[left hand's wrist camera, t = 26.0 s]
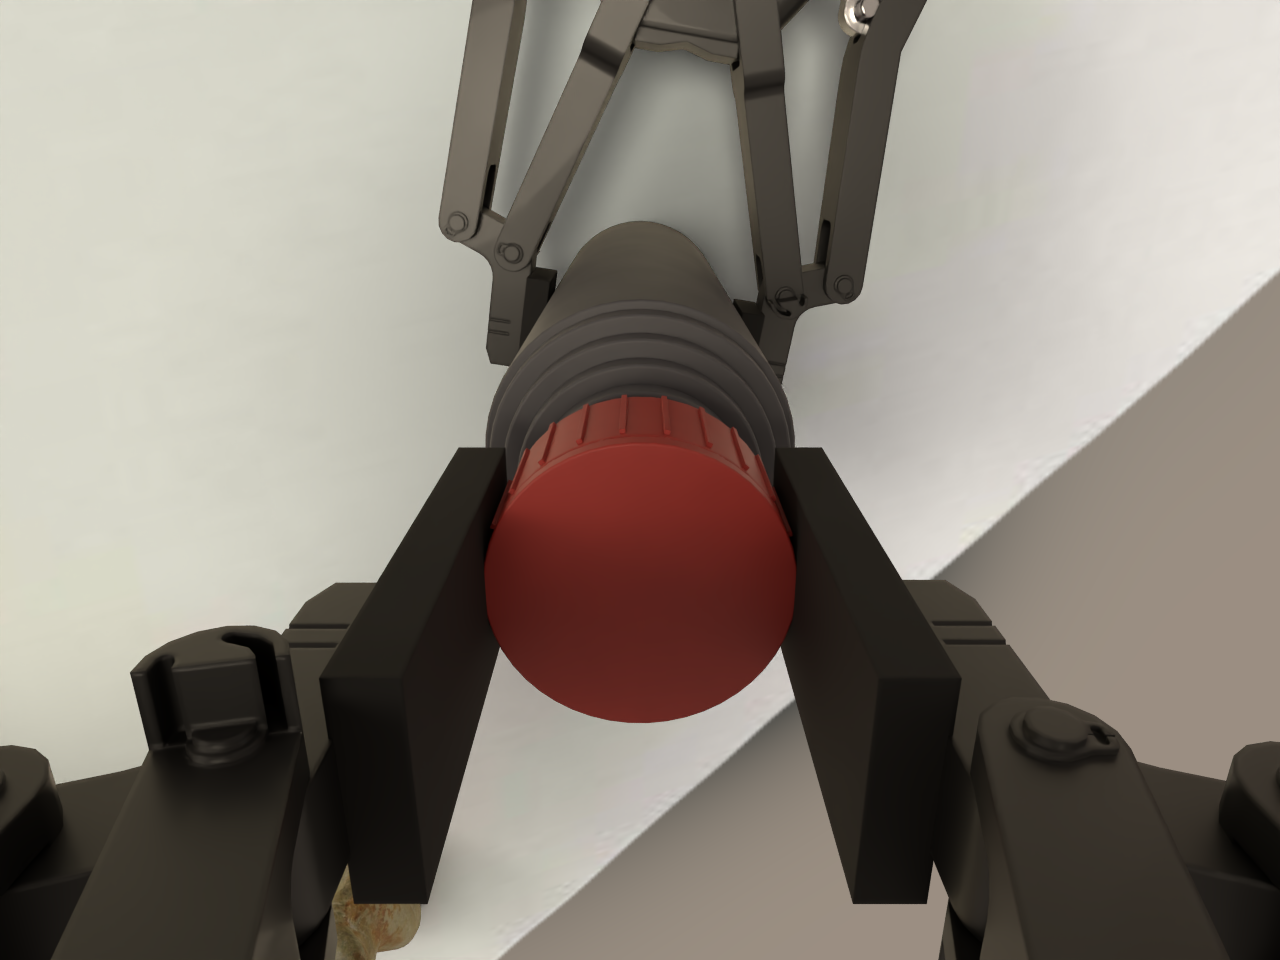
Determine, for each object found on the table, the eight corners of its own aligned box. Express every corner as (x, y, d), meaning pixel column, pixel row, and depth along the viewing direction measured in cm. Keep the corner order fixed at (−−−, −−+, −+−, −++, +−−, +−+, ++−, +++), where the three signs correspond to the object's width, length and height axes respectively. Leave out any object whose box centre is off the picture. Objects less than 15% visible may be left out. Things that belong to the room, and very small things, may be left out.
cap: (735, 354, 13) (754, 394, 11) (807, 602, 15) (836, 680, 13) (461, 440, 14) (427, 495, 12) (559, 672, 15) (544, 759, 13)
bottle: (641, 186, 34) (643, 261, 11) (748, 301, 36) (941, 572, 13) (531, 299, 36) (338, 567, 13) (639, 405, 37) (637, 810, 14)
